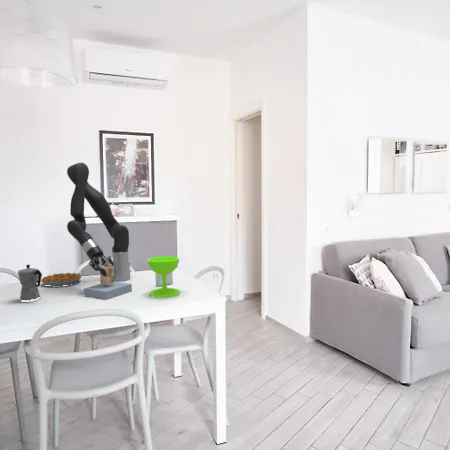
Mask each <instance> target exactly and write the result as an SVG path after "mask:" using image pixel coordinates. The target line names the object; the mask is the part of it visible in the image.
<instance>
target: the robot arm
mask: <svg viewBox="0 0 450 450" xmlns="http://www.w3.org/2000/svg"><path fill="white" fill-rule="evenodd" d="M66 174H67V177H68V178H69V181H71V182H72V183H73V184H74V185H75V186H74V191H73V193H72V195H71V199H70V213H69V214H70V216H71V217H72V218H73V219H74V220H73V219H72V220H70V221H68V223H67V225H66V229H67V232H68V233H69V234H70V235H71V236H72V238H74V239H75V240H76V241H77V242H78V244H79V245H80V246H81V247H82V250H83V251H84V253H85V254H86V256H87V257H88V259H89V262H88V265H89V266H90V267H91V268H93V270H94V271H96V272H99V273H100V272H101V274H102V275H103V276H106V275H107V273H106V271H105V270H104V269H102V268H103V267H106V266H109V267H114V282H124V281H128V280H129V279H131V265H130V264H131V263H130V262H129V247H130V233H129V229H128V227H127V226H125V225H123V224H121V223H119V222H118V221H117V219H116V218H115V217H114V215H113V212H112V209H111V206H110V204H109V202H108V200H107V199H106V198H105V196H104V195H103V193H101V192H100V191H99V190H97V189H96V188H94V187H93V186H92V185H91V184H90V183H89V182H88V179H89V176H90V175H89V174H90V169H89V167H88V165H87V164H86V163H84V162H76V163H75V164H72V165H70V166H68V167H67V169H66ZM85 200H86V201H87V203H88V204H89V206H90V208H91V209H92V210H93V212H94V213H95V214H96V216H97V217H98V218H99V220H100V221H101V222H102V224H103V225H104V227H105V229H106V230H107V232H108V234H109V235H110V237H111V239H113V246H112V247H111V251H112V255H111V256H112V257H111V256H108V257H106V256H105V255H104V251H103V250H102V249H101V247H100V246H99V244H98V243H97V242H96V241H95V239H94V238H93V237H92V235H91V234H90V233H88V232H87V222H86V217H85Z"/></svg>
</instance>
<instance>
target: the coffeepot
mask: <svg viewBox="0 0 450 450" xmlns="http://www.w3.org/2000/svg"><path fill="white" fill-rule="evenodd" d="M25 266H26V268H23V269H19V270H18V271H17V274H18V278H19V283H20V285H21V290H20V299H21V300H31V299H36V298H38V297H40V298H41V295H40V291H39V287H40V286H41V283H42V282H41V280H42V278H43V277H42V276H43V273H42V272H41V271H40V270H39V268H32V267H31V264H26V265H25ZM20 299H19V300H20Z"/></svg>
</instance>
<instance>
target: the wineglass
mask: <svg viewBox="0 0 450 450" xmlns="http://www.w3.org/2000/svg"><path fill="white" fill-rule="evenodd" d="M147 262H148V266H149V268H150V269H151V271H152V272H153V273H154V274H155V273H157V274H160V275H162V282H163V285H162V286H161V287H160V288H156V289H152V290H151V291H150V292H149V294H148V295H149V296H150V295H151V296H150V297H152V296H153V297H152V298H158V297H165V298H172V297H176V296H178V295H180V293H181V291H180V289H178V288H175V287H174V288H173V287H167V285H166V274H169V273H171V272H172V273H173V272H175V270H176V269H177V267H178V266H179V262H180V257H176V256H156V257H151V258H150V257H149V258H148V259H147Z"/></svg>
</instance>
